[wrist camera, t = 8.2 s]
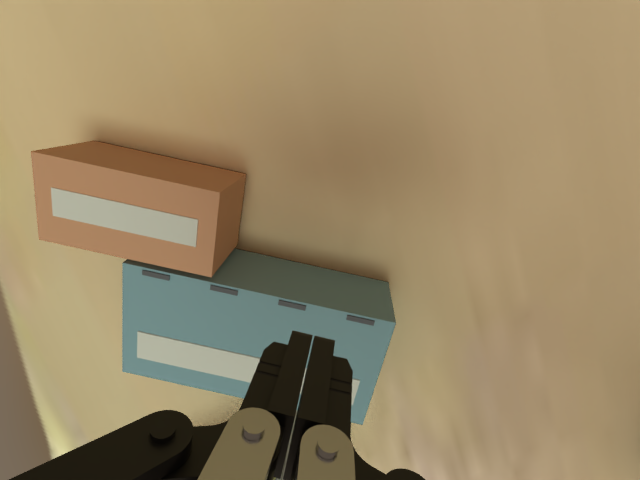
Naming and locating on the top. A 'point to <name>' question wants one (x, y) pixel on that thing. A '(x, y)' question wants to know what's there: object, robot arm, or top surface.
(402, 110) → the top surface
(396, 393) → the top surface
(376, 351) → the blue labelled box
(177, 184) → the orange labelled box
